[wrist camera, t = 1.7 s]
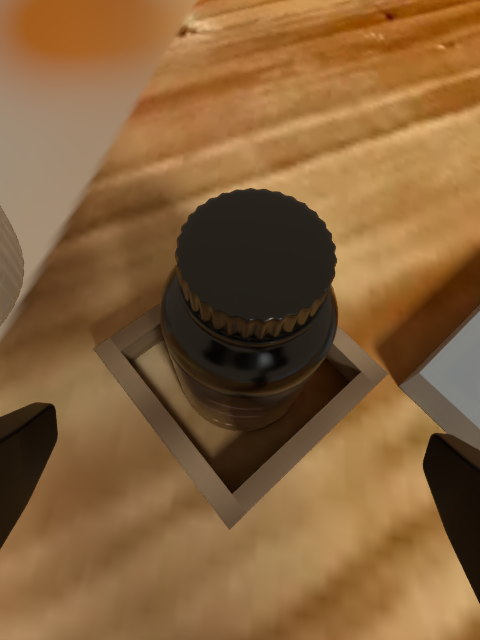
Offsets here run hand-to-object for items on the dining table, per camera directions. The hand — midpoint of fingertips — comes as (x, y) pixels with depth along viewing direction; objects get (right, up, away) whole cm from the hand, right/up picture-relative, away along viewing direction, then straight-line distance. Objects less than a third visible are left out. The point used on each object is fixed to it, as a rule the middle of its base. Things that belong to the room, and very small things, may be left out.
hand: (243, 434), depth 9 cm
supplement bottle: (0, 0, +13) cm, 13 cm away
